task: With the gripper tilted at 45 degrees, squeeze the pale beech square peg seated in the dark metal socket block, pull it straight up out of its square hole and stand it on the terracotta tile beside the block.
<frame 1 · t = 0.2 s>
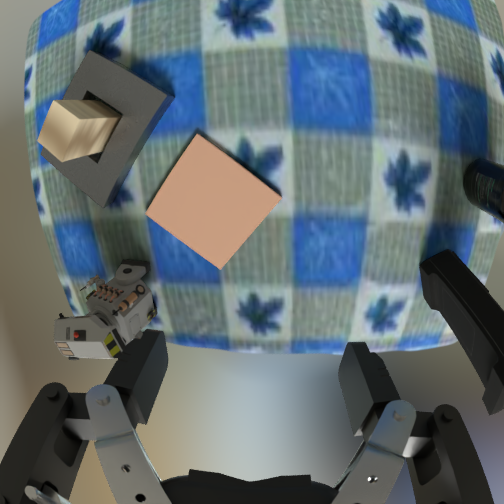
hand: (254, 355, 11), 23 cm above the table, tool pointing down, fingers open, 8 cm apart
supplement bottle: (478, 181, 27), on the table
beech peg: (81, 127, 25), in the socket block
figurine: (130, 284, 39), on the table
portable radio: (437, 275, 34), on the table
socket block: (102, 125, 29), on the table
terracotta tile: (209, 204, 32), on the table
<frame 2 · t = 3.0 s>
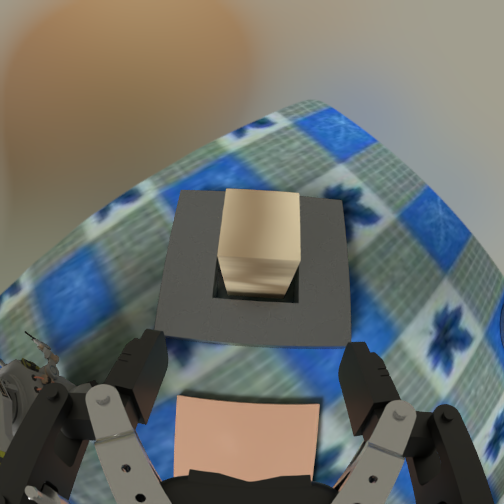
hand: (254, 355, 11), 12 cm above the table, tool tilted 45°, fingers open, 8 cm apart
beech peg: (258, 251, 22), in the socket block
figurine: (68, 394, 20), on the table
socket block: (257, 270, 26), on the table
terracotta tile: (244, 463, 18), on the table
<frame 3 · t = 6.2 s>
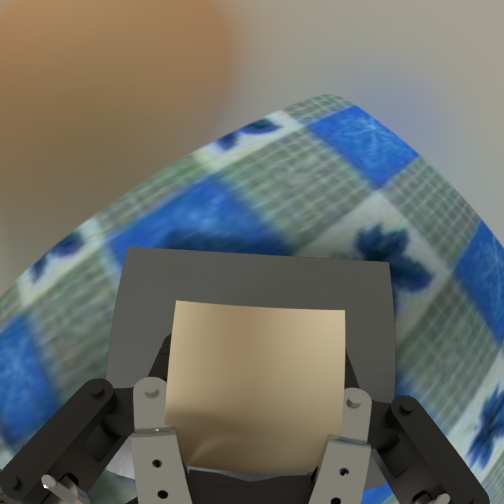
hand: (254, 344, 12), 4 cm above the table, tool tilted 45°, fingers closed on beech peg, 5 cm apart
beech peg: (253, 384, 11), in the socket block, touching gripper
figurine: (30, 489, 9), on the table
socket block: (251, 380, 15), on the table
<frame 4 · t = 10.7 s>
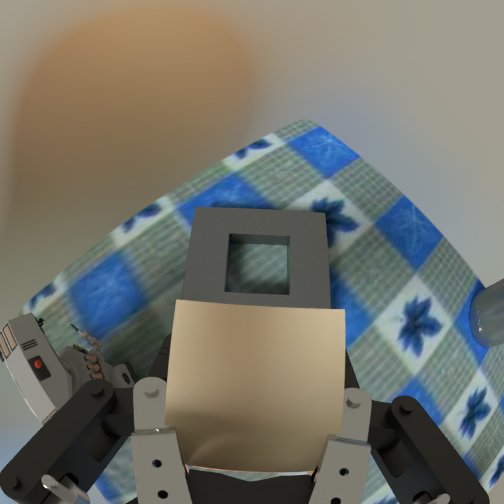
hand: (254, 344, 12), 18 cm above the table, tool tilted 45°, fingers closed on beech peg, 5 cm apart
beech peg: (253, 383, 11), point 19 cm above the table, touching gripper
figurine: (103, 376, 27), on the table
socket block: (257, 270, 33), on the table
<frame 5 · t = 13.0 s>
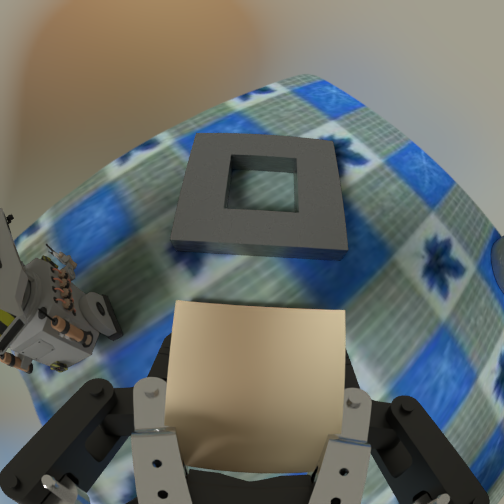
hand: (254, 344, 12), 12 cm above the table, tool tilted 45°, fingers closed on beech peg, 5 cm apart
beech peg: (253, 384, 11), point 12 cm above the table, touching gripper
figurine: (77, 317, 23), on the table
socket block: (261, 195, 29), on the table
when the fingers open (6 cm above the table, at t = 15.1 s): beech peg drops 1 cm, resting on terracotta tile.
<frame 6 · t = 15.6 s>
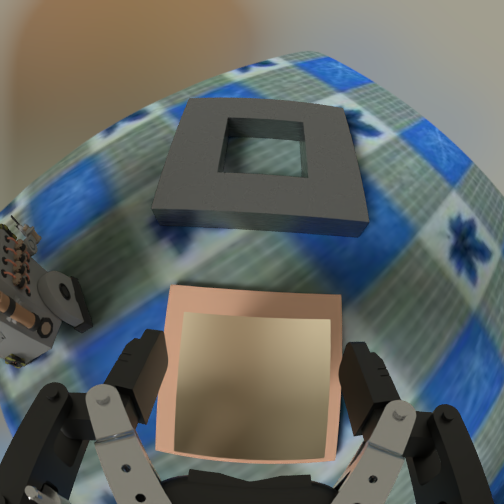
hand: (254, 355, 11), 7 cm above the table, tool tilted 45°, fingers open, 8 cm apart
beech peg: (251, 383, 12), on the terracotta tile, point 5 cm above the table
figurine: (45, 305, 18), on the table
socket block: (263, 163, 24), on the table
terracotta tile: (250, 379, 17), on the table
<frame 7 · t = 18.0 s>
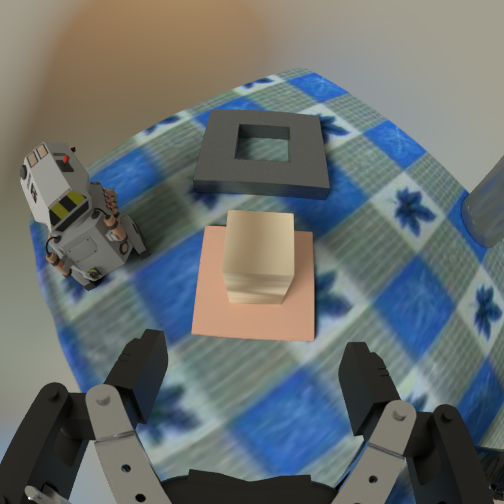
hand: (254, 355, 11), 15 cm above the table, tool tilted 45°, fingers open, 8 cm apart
supplement bottle: (453, 466, 18), on the table
beech peg: (257, 264, 24), on the terracotta tile, point 5 cm above the table
figurine: (109, 247, 30), on the table
socket block: (262, 154, 36), on the table
terracotta tile: (256, 281, 29), on the table
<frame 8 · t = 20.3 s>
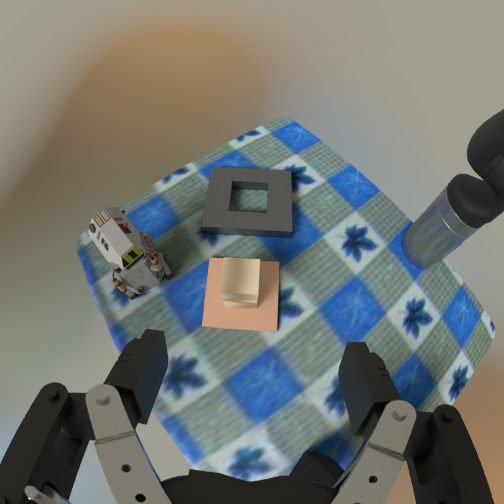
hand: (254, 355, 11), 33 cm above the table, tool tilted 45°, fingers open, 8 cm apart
beech peg: (241, 285, 41), on the terracotta tile, point 5 cm above the table
figurine: (144, 270, 47), on the table
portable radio: (309, 472, 33), on the table
socket block: (248, 203, 53), on the table
terracotta tile: (241, 294, 46), on the table
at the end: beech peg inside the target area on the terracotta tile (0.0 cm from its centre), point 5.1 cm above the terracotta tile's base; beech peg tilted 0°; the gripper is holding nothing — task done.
